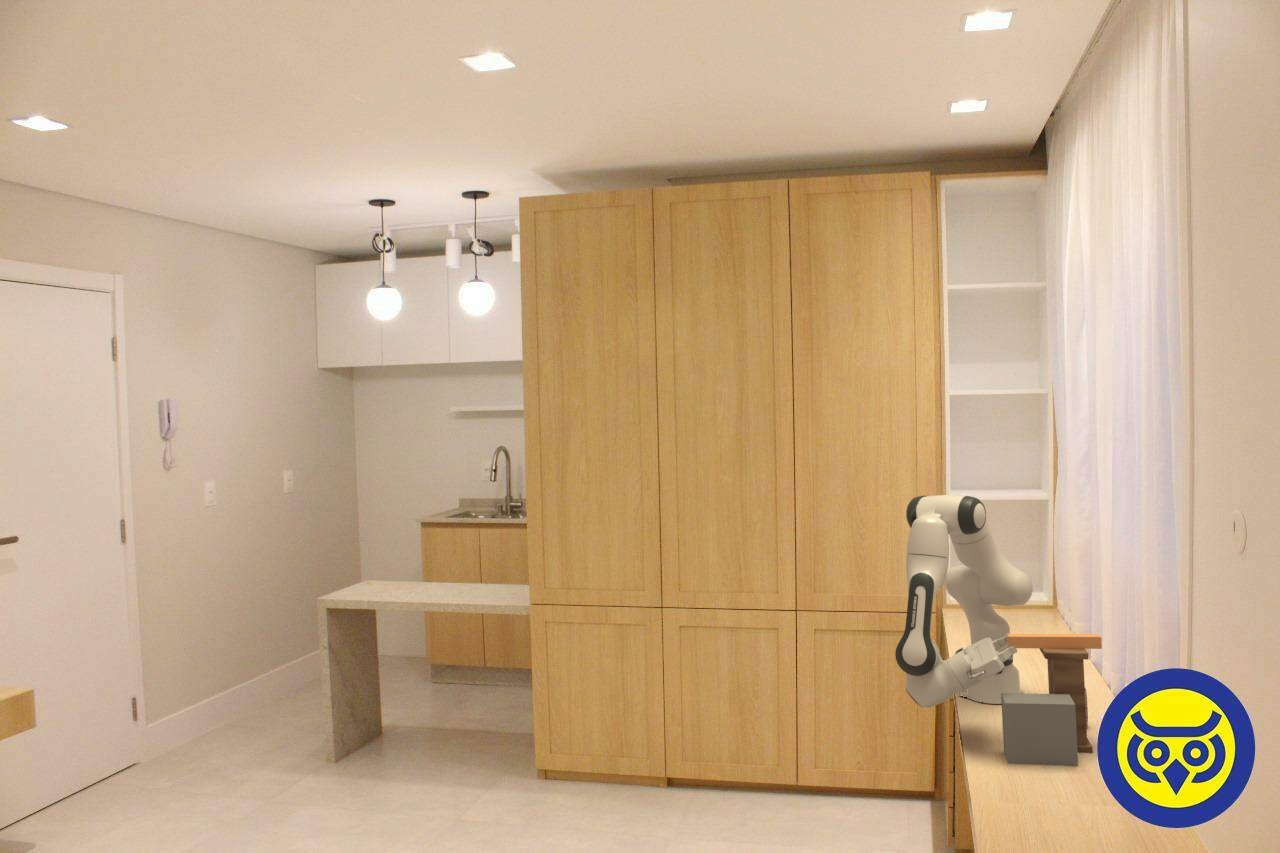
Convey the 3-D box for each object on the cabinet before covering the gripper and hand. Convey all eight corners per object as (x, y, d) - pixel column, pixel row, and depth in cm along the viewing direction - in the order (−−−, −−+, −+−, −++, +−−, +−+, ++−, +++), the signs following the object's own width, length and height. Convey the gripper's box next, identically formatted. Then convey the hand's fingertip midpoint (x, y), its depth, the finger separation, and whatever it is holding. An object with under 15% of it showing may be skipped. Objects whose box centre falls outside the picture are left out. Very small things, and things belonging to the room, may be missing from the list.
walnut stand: (1042, 734, 256) (1037, 640, 255) (1083, 735, 253) (1078, 641, 252) (1049, 751, 244) (1045, 653, 243) (1092, 752, 241) (1088, 653, 241)
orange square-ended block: (1007, 645, 252) (1007, 633, 252) (1099, 645, 247) (1098, 634, 247) (1009, 648, 249) (1008, 636, 249) (1101, 648, 244) (1101, 637, 244)
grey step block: (1003, 751, 246) (1001, 693, 245) (1071, 753, 242) (1069, 694, 241) (1007, 763, 238) (1004, 703, 237) (1078, 766, 234) (1075, 704, 234)
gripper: (962, 670, 244) (1011, 643, 241) (956, 648, 264) (1001, 623, 261) (976, 691, 243) (1026, 664, 240) (969, 668, 263) (1015, 643, 260)
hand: (1013, 642), depth 251 cm, fingers open, 8 cm apart
